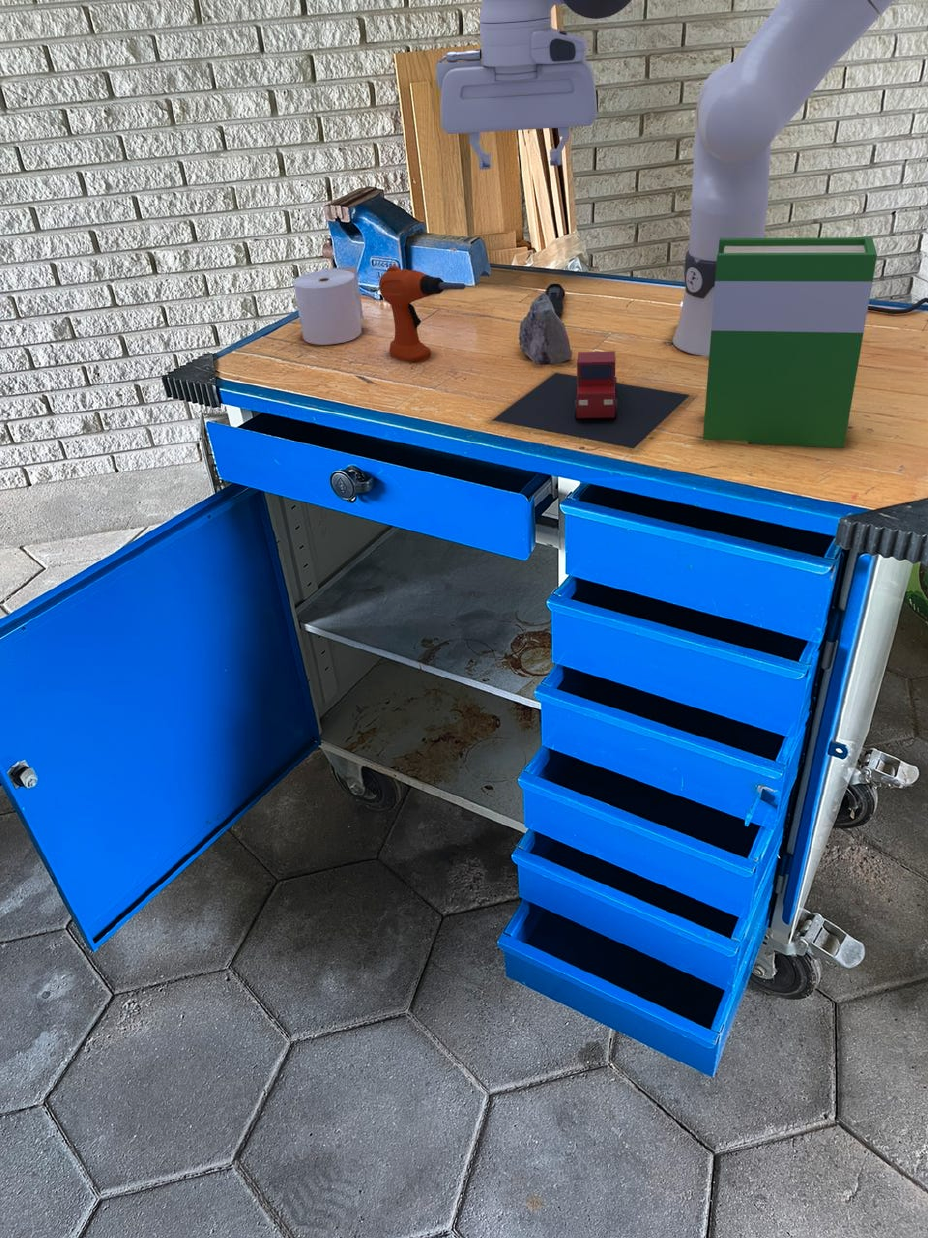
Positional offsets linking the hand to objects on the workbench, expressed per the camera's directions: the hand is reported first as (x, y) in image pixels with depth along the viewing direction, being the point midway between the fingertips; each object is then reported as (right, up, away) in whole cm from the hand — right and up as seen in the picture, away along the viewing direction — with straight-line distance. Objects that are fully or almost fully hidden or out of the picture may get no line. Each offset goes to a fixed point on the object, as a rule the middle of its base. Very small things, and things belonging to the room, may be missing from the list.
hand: (520, 166), depth 128 cm
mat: (+11, -30, +10) cm, 34 cm away
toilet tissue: (-31, -9, +45) cm, 55 cm away
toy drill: (-13, -18, +31) cm, 38 cm away
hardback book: (+34, -36, 0) cm, 49 cm away
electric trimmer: (+9, -4, +46) cm, 47 cm away
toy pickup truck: (+11, -30, +10) cm, 33 cm away
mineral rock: (+6, -17, +30) cm, 35 cm away
